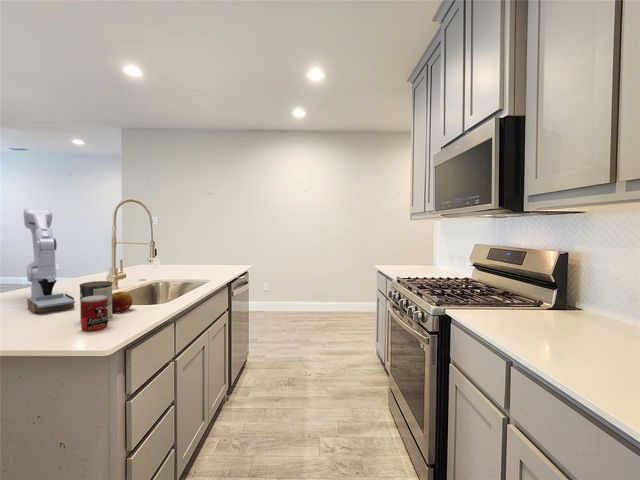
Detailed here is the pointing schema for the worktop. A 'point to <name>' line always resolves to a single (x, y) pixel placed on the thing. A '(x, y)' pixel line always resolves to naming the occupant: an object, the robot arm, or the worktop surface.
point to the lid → (52, 300)
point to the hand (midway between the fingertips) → (47, 296)
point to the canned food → (94, 313)
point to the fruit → (121, 301)
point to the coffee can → (97, 292)
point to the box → (37, 310)
